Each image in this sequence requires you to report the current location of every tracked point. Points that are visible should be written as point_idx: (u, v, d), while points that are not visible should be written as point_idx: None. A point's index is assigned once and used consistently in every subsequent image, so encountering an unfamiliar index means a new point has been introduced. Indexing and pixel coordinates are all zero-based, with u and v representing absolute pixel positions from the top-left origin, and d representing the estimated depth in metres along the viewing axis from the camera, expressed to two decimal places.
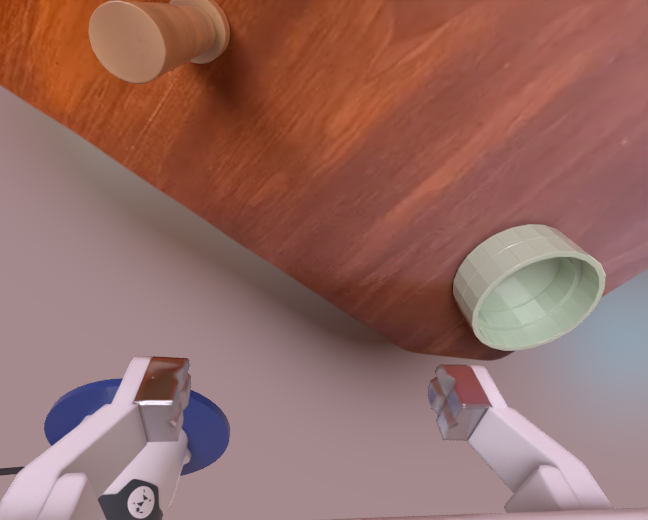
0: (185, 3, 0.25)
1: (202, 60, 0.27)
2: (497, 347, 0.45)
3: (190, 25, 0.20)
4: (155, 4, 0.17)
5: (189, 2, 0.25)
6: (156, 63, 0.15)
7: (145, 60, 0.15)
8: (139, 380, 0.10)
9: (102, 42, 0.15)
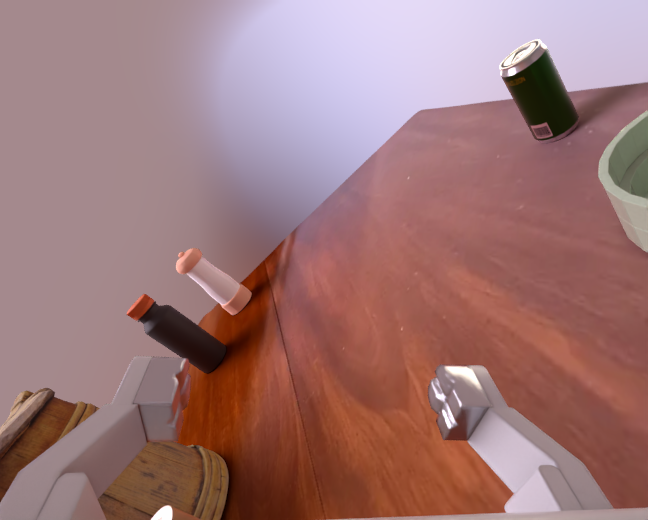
0: None
1: None
2: None
3: None
4: None
5: None
6: (169, 519, 0.20)
7: None
8: (139, 380, 0.10)
9: None
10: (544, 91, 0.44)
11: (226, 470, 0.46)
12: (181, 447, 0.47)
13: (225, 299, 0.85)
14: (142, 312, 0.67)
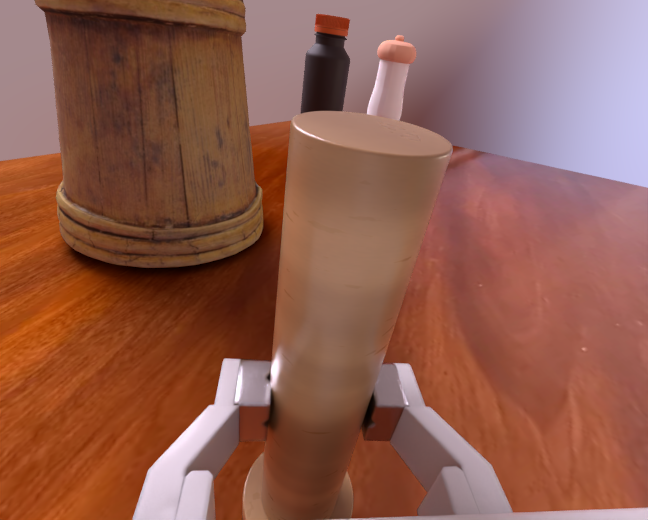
0: None
1: None
2: None
3: None
4: None
5: None
6: (437, 141, 0.06)
7: (415, 139, 0.06)
8: (234, 382, 0.10)
9: (322, 126, 0.06)
10: None
11: (260, 232, 0.35)
12: (252, 164, 0.34)
13: None
14: (330, 30, 0.50)
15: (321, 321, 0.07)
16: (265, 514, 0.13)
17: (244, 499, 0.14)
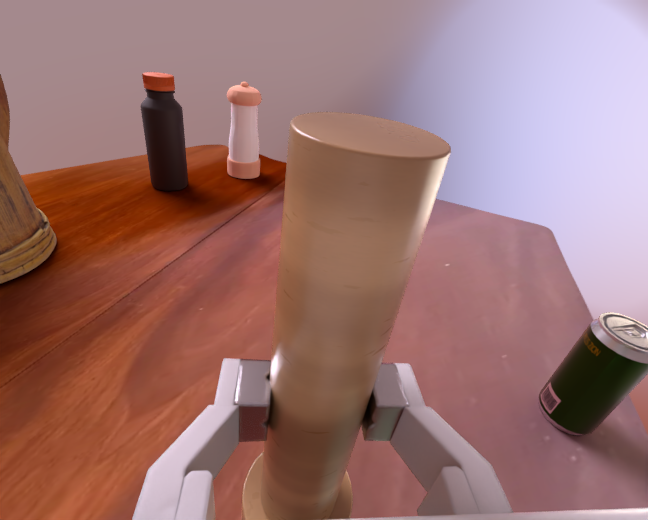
0: None
1: None
2: None
3: None
4: None
5: None
6: (435, 143, 0.07)
7: (413, 141, 0.06)
8: (234, 382, 0.10)
9: (321, 128, 0.06)
10: (595, 384, 0.32)
11: (34, 266, 0.44)
12: (25, 213, 0.44)
13: (233, 156, 0.78)
14: (152, 87, 0.60)
15: (320, 322, 0.07)
16: (264, 514, 0.13)
17: (244, 499, 0.14)
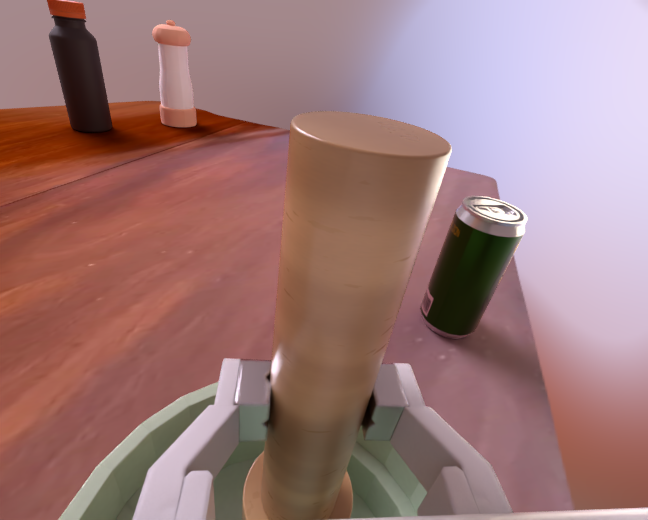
0: None
1: None
2: None
3: None
4: None
5: None
6: (436, 142, 0.07)
7: (415, 140, 0.06)
8: (234, 382, 0.10)
9: (321, 127, 0.06)
10: (459, 270, 0.29)
11: None
12: None
13: (164, 102, 0.74)
14: (57, 12, 0.56)
15: (320, 321, 0.07)
16: (265, 513, 0.13)
17: (244, 498, 0.14)
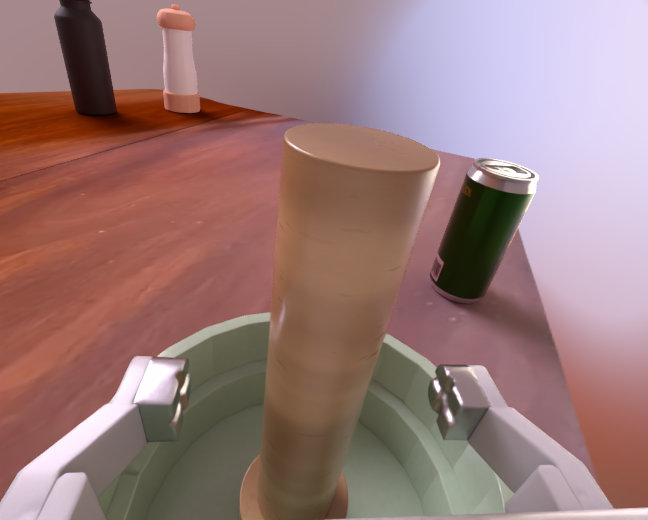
0: None
1: None
2: None
3: None
4: None
5: None
6: (425, 155, 0.07)
7: (404, 153, 0.07)
8: (139, 380, 0.10)
9: (313, 141, 0.06)
10: (470, 231, 0.29)
11: None
12: None
13: (168, 87, 0.74)
14: None
15: (313, 328, 0.08)
16: (261, 515, 0.14)
17: (241, 500, 0.14)
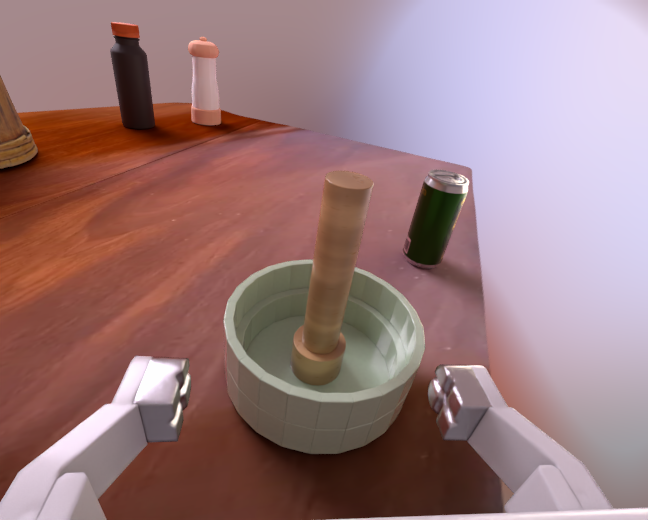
0: None
1: (332, 357, 0.28)
2: (330, 397, 0.22)
3: None
4: None
5: None
6: (368, 183, 0.22)
7: (362, 182, 0.22)
8: (139, 380, 0.10)
9: (334, 179, 0.21)
10: (426, 218, 0.44)
11: (18, 162, 0.56)
12: (11, 119, 0.55)
13: (196, 104, 0.89)
14: (119, 33, 0.71)
15: (333, 240, 0.23)
16: (304, 346, 0.29)
17: (294, 341, 0.29)
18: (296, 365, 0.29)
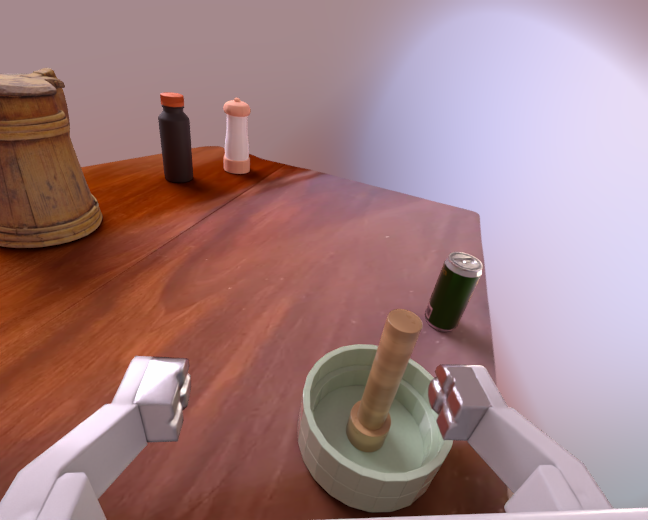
0: None
1: (382, 433, 0.37)
2: (391, 477, 0.30)
3: None
4: None
5: None
6: (419, 323, 0.30)
7: (414, 323, 0.30)
8: (139, 380, 0.10)
9: (395, 321, 0.30)
10: (446, 293, 0.53)
11: (91, 231, 0.65)
12: (85, 194, 0.64)
13: (228, 156, 0.98)
14: (167, 104, 0.80)
15: (392, 361, 0.31)
16: (360, 423, 0.37)
17: (352, 419, 0.38)
18: (353, 436, 0.38)
